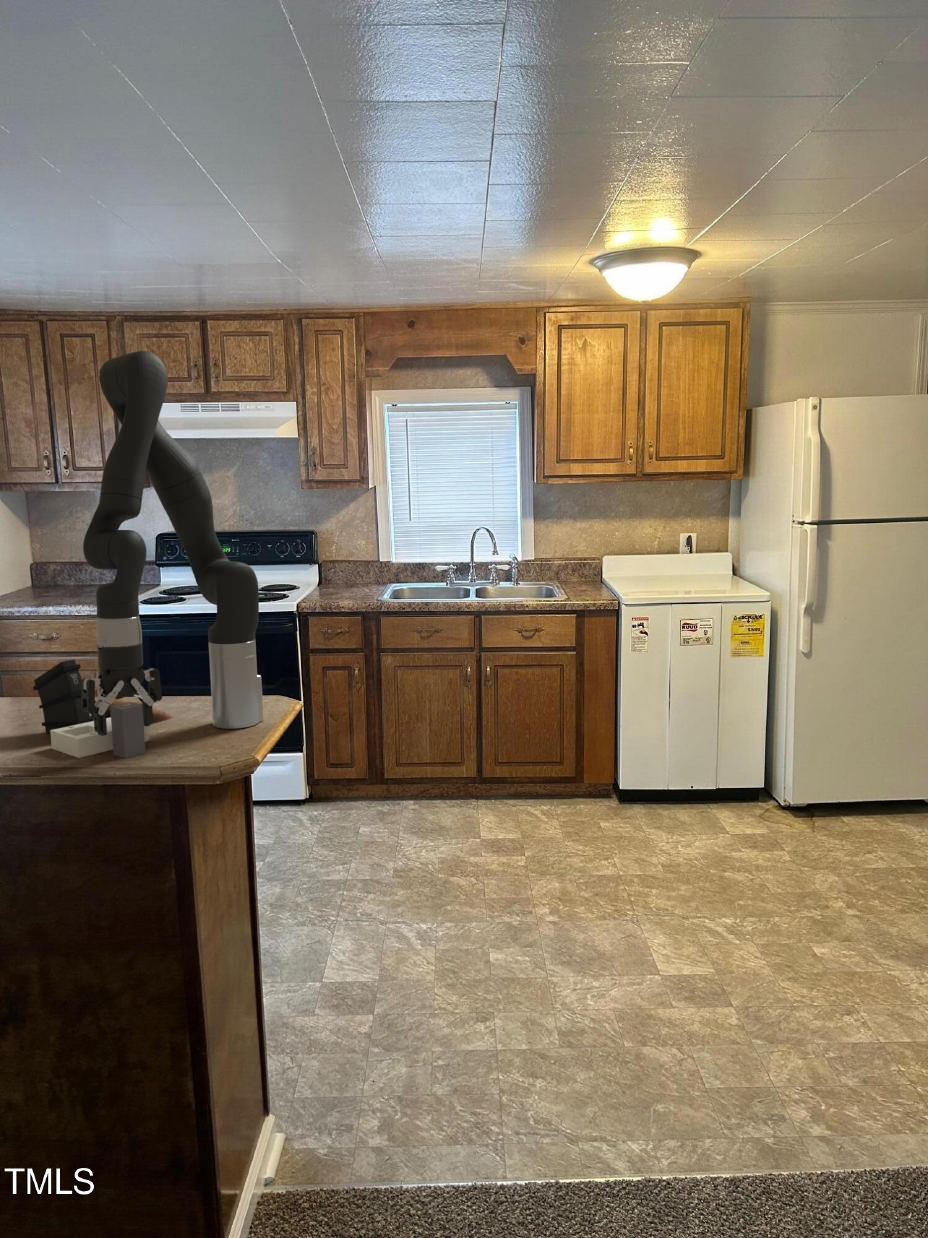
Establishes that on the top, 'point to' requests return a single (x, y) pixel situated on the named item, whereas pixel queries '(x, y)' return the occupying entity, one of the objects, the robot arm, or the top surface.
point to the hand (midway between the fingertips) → (124, 730)
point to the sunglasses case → (157, 714)
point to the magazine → (61, 696)
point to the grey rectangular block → (127, 729)
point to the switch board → (84, 739)
